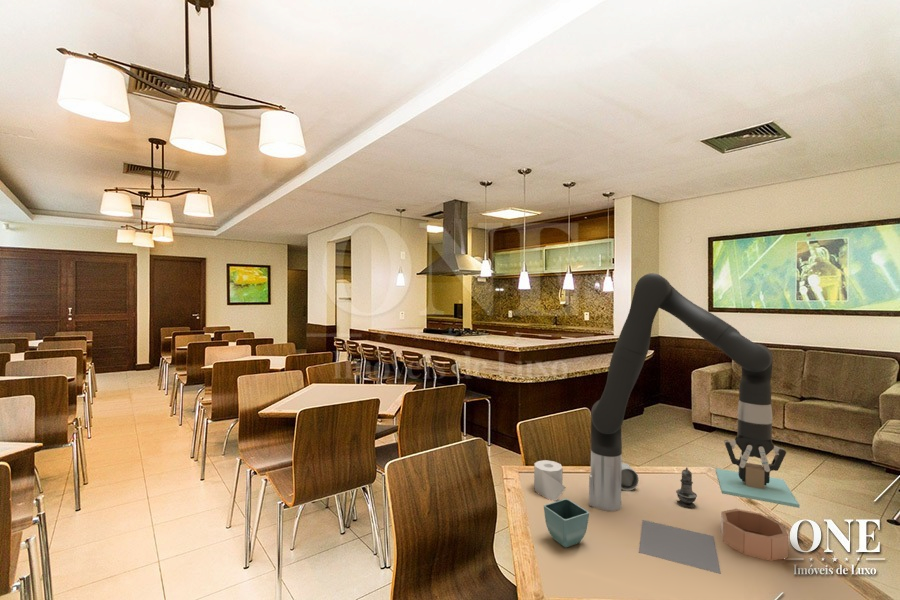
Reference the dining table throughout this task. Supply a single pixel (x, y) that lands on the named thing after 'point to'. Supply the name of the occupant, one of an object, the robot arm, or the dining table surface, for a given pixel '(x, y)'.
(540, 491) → the toilet tissue
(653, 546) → the mat
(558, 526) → the flower pot
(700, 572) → the dining table surface
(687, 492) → the dark grey chess piece
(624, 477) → the ceramic mug
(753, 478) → the lid
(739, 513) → the bowl
